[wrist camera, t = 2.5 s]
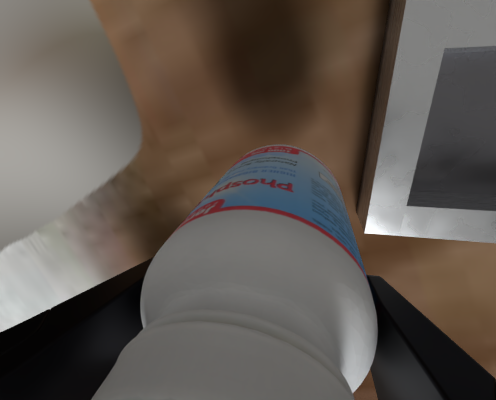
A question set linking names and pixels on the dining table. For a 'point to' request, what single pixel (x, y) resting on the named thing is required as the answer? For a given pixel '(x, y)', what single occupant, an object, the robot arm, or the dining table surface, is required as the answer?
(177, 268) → the pill bottle
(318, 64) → the dining table surface
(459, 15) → the white compartment tray
